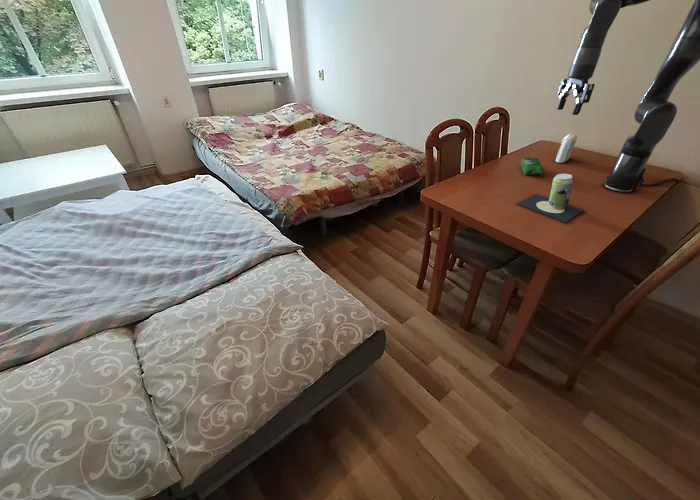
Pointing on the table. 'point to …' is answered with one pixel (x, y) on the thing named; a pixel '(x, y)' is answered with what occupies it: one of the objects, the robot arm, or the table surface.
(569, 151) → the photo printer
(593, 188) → the table surface
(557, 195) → the beverage can
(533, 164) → the snack package
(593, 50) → the robot arm
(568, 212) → the mat
